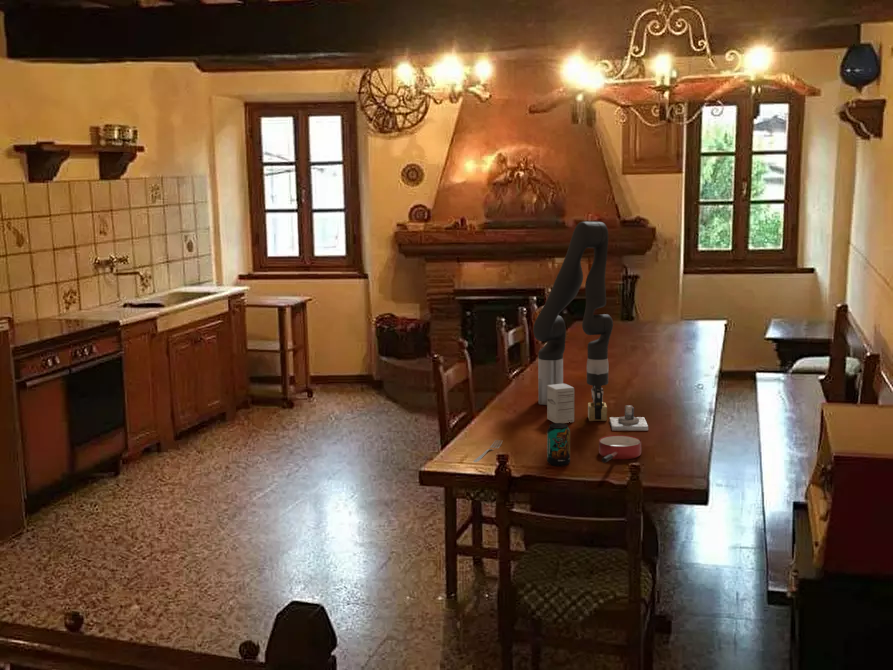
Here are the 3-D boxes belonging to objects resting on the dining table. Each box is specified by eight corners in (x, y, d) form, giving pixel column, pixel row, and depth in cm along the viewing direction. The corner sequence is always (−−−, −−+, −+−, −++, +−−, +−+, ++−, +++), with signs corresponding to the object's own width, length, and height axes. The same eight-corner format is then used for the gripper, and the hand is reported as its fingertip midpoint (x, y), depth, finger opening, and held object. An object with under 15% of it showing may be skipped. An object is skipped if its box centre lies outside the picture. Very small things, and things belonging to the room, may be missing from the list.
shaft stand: (612, 430, 347) (612, 410, 346) (609, 421, 359) (609, 402, 358) (648, 430, 346) (648, 410, 345) (644, 421, 358) (644, 401, 357)
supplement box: (546, 419, 363) (546, 384, 361) (565, 417, 366) (565, 382, 364) (556, 424, 357) (555, 389, 354) (575, 422, 359) (575, 387, 357)
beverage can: (566, 467, 308) (566, 429, 306) (544, 465, 310) (544, 427, 308) (572, 461, 314) (572, 423, 312) (550, 459, 317) (550, 421, 315)
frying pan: (635, 480, 295) (635, 459, 294) (590, 478, 298) (590, 457, 297) (642, 449, 326) (642, 429, 324) (601, 447, 329) (601, 427, 328)
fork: (466, 465, 314) (465, 459, 314) (495, 444, 336) (494, 439, 335) (475, 466, 313) (475, 460, 312) (504, 445, 334) (504, 440, 334)
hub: (589, 420, 360) (589, 406, 359) (588, 416, 366) (588, 402, 365) (606, 420, 360) (606, 406, 359) (605, 416, 366) (605, 402, 365)
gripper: (585, 366, 367) (585, 411, 370) (587, 375, 353) (587, 422, 356) (606, 366, 367) (606, 411, 370) (609, 375, 353) (609, 422, 356)
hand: (597, 416), depth 363 cm, fingers closed on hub, 6 cm apart
